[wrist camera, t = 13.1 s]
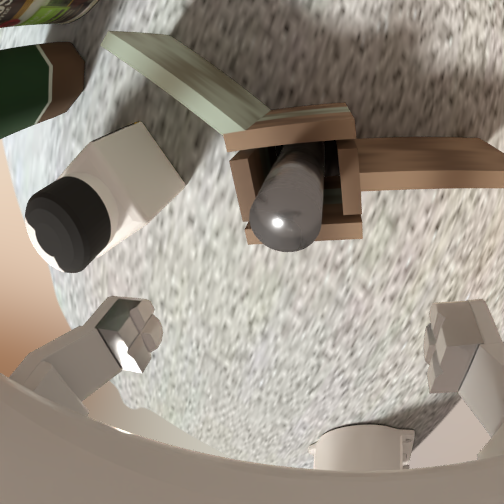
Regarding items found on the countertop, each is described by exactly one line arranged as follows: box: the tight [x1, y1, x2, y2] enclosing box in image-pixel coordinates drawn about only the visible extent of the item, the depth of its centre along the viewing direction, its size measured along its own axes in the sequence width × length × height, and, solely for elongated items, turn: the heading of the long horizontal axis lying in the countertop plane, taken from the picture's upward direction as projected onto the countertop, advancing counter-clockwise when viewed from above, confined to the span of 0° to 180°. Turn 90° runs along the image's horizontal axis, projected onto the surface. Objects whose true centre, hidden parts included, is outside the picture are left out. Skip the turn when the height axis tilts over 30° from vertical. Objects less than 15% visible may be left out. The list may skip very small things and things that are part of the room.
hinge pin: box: [249, 141, 325, 252], centre depth 18 cm, size 3×3×12 cm
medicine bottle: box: [25, 121, 185, 273], centre depth 22 cm, size 7×7×12 cm
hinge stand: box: [100, 31, 504, 245], centre depth 17 cm, size 23×14×8 cm, turn 101°
